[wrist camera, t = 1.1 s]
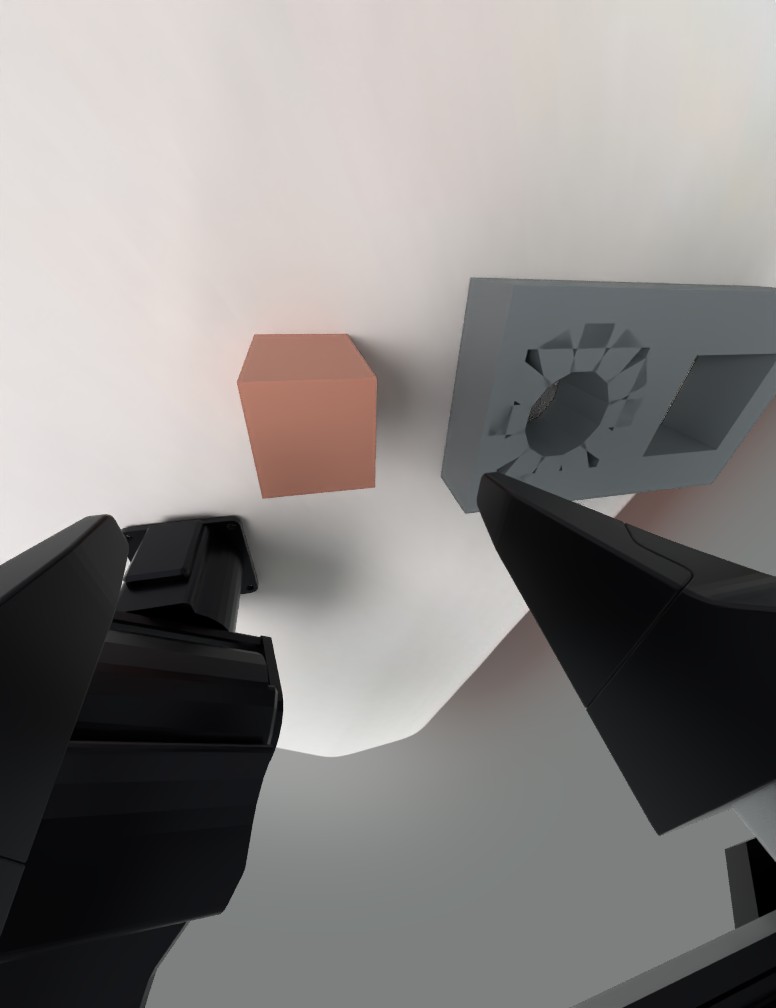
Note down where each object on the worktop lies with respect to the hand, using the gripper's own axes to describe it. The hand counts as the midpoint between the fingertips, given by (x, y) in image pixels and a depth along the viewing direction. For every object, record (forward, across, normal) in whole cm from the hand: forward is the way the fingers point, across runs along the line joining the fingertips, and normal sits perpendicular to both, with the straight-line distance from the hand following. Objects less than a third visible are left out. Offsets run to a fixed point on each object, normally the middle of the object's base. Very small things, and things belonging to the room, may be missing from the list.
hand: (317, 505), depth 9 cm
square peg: (+11, 0, 0) cm, 11 cm away
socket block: (+11, -17, +1) cm, 20 cm away
